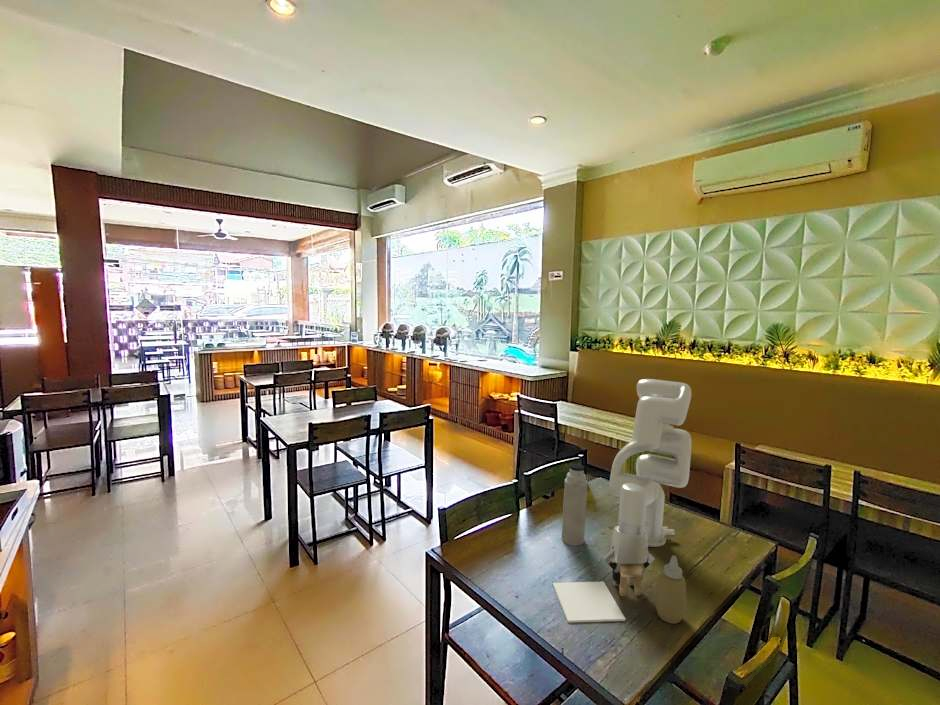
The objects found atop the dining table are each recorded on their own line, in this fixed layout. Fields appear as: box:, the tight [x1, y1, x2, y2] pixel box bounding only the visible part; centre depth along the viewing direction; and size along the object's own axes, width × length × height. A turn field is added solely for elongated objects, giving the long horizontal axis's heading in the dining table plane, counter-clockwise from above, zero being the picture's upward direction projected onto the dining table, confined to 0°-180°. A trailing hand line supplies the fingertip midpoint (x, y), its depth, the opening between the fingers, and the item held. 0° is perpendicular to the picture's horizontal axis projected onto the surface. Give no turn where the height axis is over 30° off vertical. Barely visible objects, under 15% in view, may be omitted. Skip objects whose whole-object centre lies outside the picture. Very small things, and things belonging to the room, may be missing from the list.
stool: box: [612, 564, 643, 597], centre depth 134 cm, size 6×6×8 cm
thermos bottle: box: [561, 463, 588, 546], centre depth 160 cm, size 8×8×28 cm
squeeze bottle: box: [653, 554, 687, 625], centre depth 123 cm, size 8×8×18 cm
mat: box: [552, 581, 626, 624], centre depth 129 cm, size 16×16×1 cm
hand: (627, 581), depth 135 cm, fingers closed on stool, 6 cm apart
